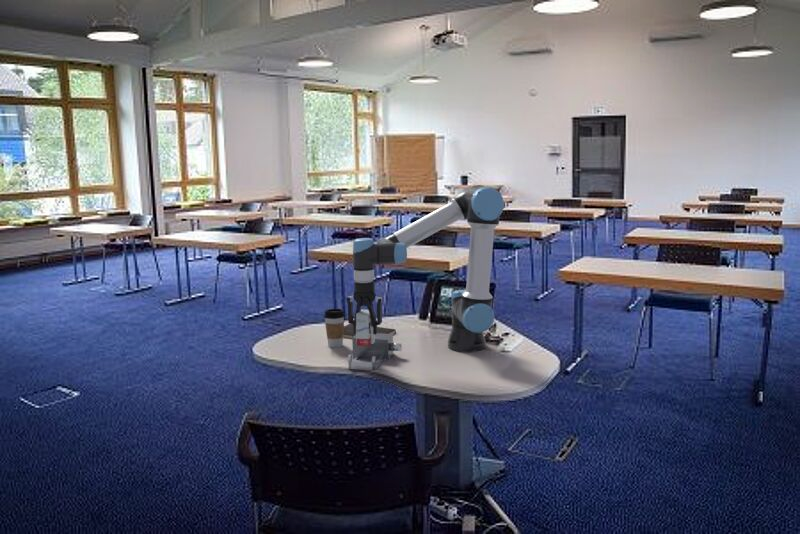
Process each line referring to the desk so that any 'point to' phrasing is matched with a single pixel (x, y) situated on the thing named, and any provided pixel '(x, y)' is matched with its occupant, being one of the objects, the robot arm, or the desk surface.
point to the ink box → (363, 328)
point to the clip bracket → (364, 363)
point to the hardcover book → (350, 333)
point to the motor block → (377, 347)
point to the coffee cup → (334, 327)
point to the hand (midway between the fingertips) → (365, 342)
